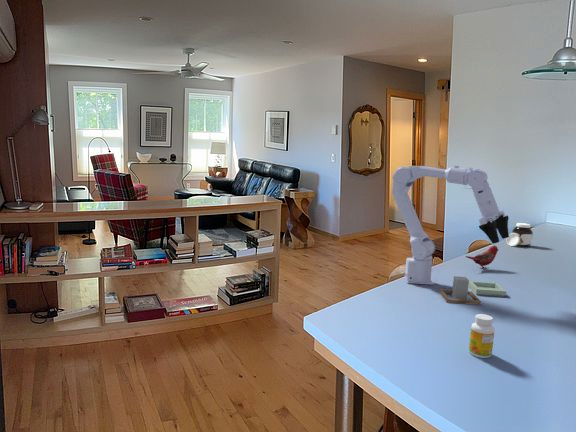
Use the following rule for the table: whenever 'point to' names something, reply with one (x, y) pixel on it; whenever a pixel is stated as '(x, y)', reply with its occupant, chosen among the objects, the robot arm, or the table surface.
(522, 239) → the spread jar
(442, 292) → the walnut frame
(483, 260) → the decorative bird figurine
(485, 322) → the supplement bottle
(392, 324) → the table surface
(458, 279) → the stone block
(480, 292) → the sage tray
